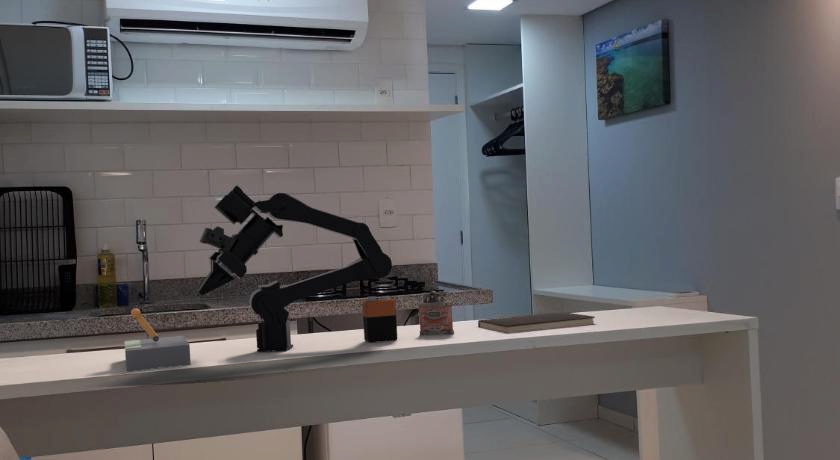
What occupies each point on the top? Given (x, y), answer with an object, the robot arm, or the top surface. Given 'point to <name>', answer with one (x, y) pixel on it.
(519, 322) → the hardcover book
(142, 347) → the block
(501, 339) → the top surface
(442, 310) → the red perfume bottle
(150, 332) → the lever
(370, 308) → the battery
